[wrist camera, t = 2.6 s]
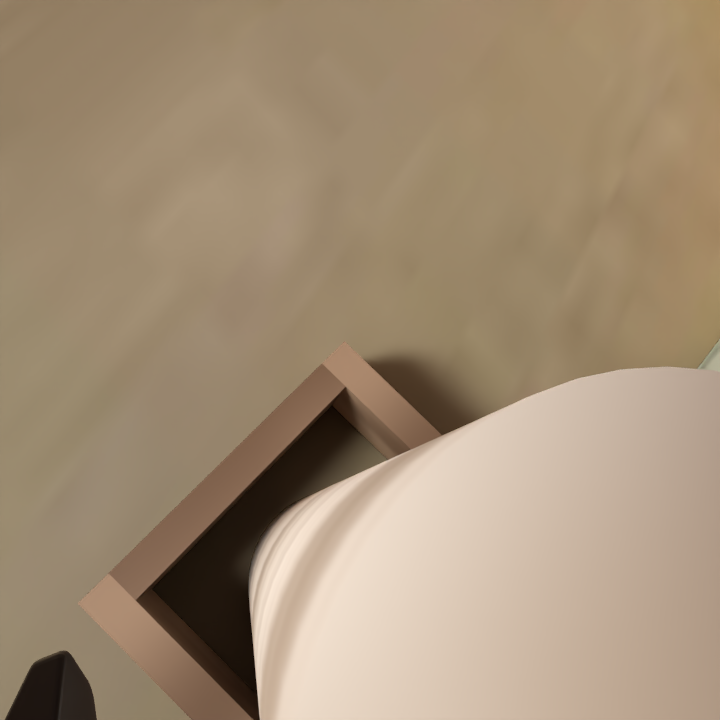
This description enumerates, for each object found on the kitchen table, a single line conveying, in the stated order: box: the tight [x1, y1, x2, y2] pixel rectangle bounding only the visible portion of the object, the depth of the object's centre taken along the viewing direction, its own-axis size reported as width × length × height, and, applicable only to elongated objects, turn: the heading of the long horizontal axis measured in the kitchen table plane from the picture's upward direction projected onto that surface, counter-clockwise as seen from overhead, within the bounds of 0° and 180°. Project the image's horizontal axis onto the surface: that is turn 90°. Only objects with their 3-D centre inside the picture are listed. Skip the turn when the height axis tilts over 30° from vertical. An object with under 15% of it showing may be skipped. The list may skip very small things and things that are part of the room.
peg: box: [248, 367, 720, 720], centre depth 10 cm, size 4×4×14 cm
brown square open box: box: [78, 341, 442, 720], centre depth 15 cm, size 8×8×2 cm
